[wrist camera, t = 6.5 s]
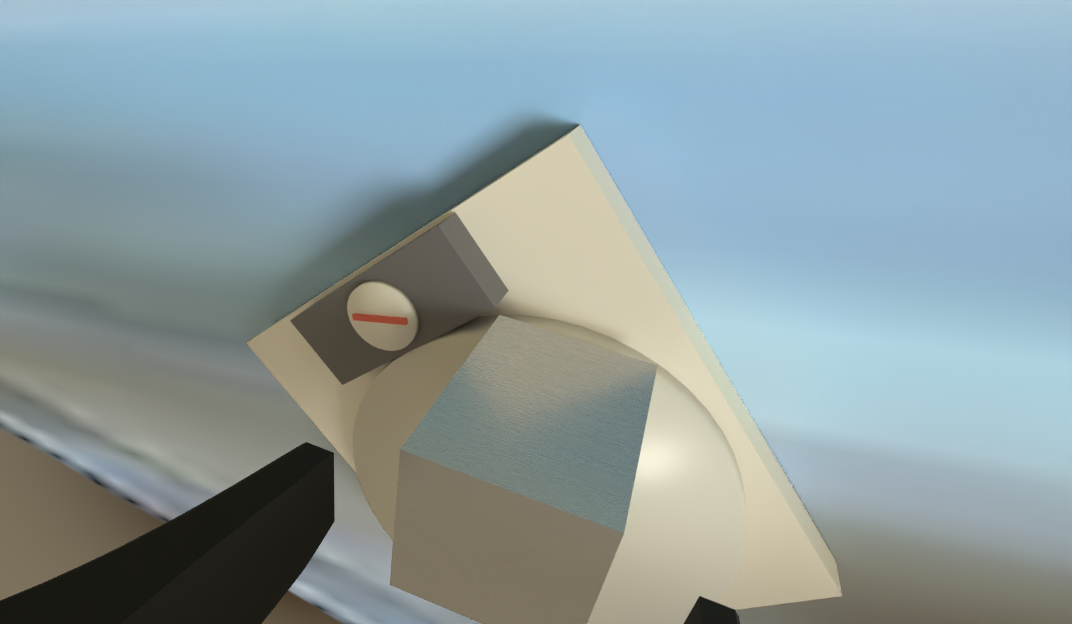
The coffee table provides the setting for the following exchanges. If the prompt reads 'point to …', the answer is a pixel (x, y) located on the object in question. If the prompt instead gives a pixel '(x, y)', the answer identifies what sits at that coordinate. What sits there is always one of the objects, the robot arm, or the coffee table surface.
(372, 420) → the scale
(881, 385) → the coffee table surface
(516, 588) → the block
